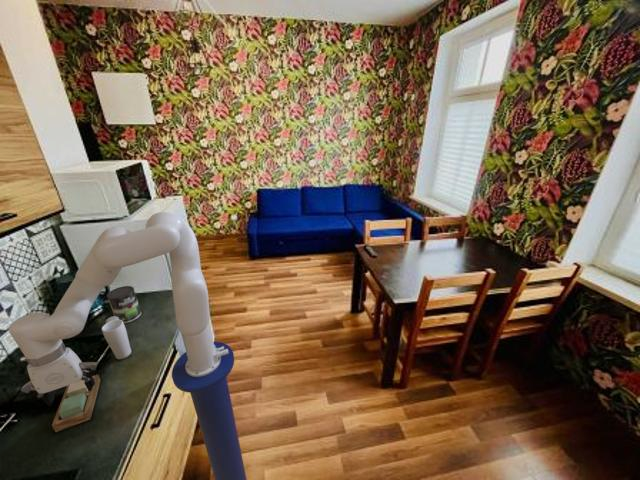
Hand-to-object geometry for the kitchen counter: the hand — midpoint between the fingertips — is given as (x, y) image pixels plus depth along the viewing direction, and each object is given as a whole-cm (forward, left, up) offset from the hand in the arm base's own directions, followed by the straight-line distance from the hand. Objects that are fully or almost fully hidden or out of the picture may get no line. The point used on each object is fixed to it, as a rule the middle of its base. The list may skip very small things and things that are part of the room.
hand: (72, 394), depth 82 cm
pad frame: (+1, -4, -8) cm, 9 cm away
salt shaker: (-7, -30, -8) cm, 32 cm away
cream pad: (+1, -7, -8) cm, 11 cm away
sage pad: (+1, 0, -8) cm, 7 cm away
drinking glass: (-9, -22, -8) cm, 25 cm away
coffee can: (-8, -49, -8) cm, 50 cm away
